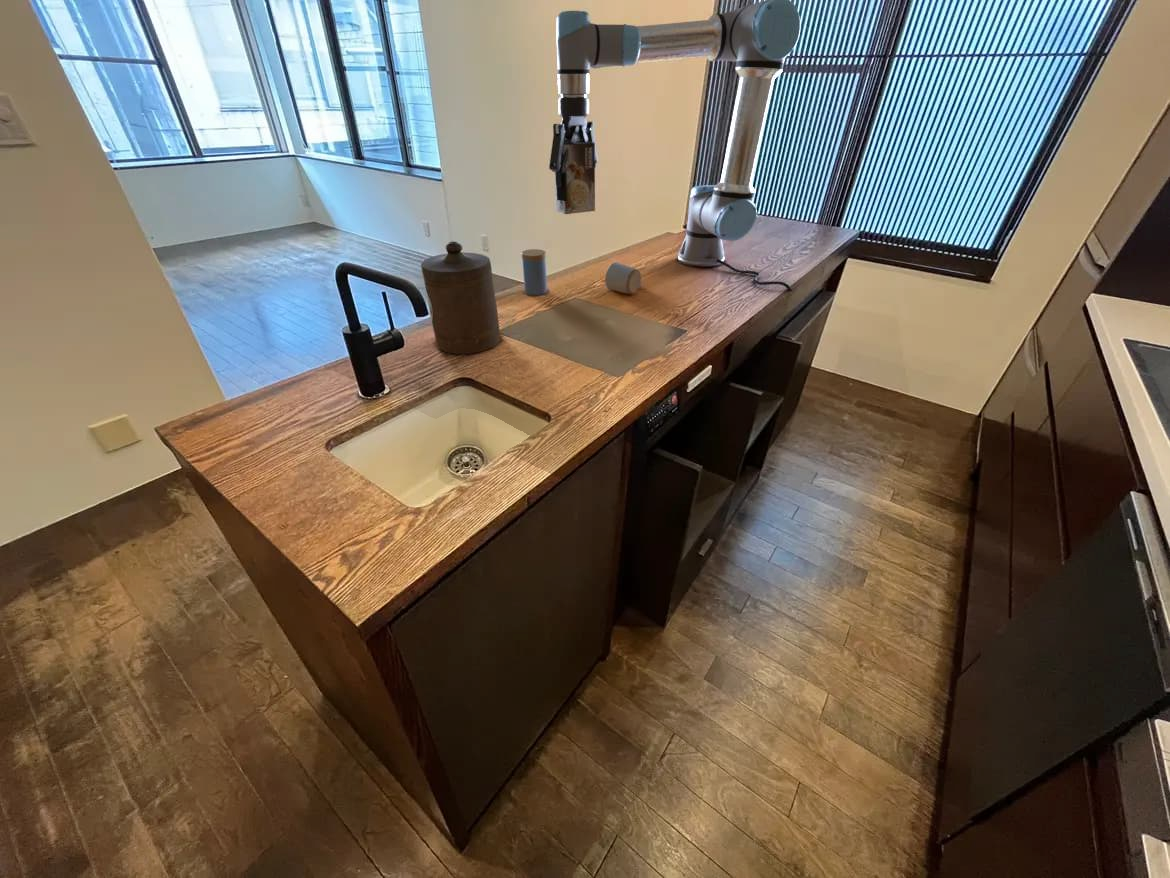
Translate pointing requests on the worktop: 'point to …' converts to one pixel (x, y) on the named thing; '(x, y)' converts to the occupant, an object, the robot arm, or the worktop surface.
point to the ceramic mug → (623, 278)
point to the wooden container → (461, 300)
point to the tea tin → (534, 271)
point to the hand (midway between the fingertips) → (575, 197)
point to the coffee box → (579, 179)
